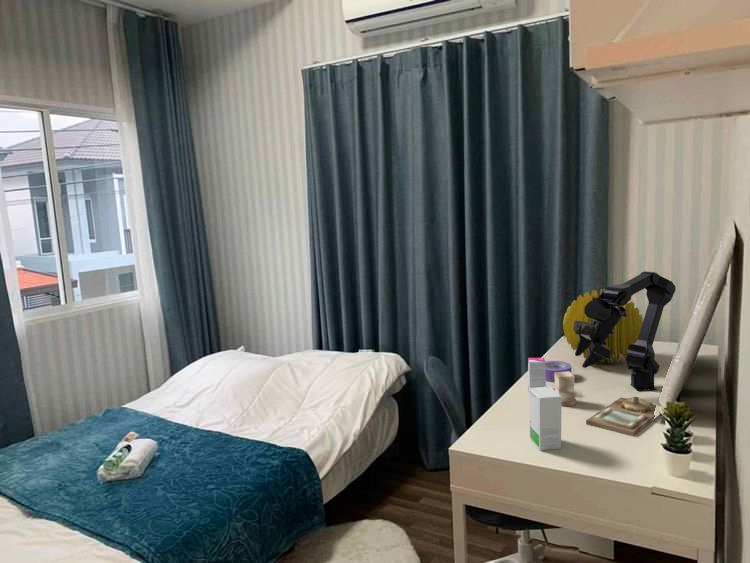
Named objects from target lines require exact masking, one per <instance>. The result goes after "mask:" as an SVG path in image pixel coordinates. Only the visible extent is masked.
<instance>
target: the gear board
mask: <svg viewBox="0 0 750 563" xmlns="http://www.w3.org/2000/svg"><path fill="white" fill-rule="evenodd" d="M656 405H657V404H654V402H651V401H646V400H645V399H644V398H640V397H638V396H633V398H632V397H628V398H625V397H620V398H618V399H616V400H615V401H613V402H612V403H610V404H609V405H607V406H606V407H604V408H602V409H601V410H600V411H598V412H596V413H595V414H593V415H592V416H590V417H589V418H587V419H586V420H585V424H586V425H588V426H592V427H597V428H601V429H605V430H608V431H611V432H614V433H615V432H616V433H619V434H623V435H626V436H631V437H634V436H635V435H637V434H638V433H639V432H641V431H642V430H643V429H644V428H646V427H647V426H648V425H649V424H650V423H652V422H654V420H655V419H654V417H655V415H654V411H655V408H656ZM653 419H654V420H653Z"/></svg>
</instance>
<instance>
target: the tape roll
mask: <svg viewBox="0 0 750 563" xmlns="http://www.w3.org/2000/svg"><path fill="white" fill-rule="evenodd" d="M545 362H546V382H548V383H555V372H567V371H570V372H571V373H572V371H573V370H572V365H571V364H570V363H569V362H566V361H562V360H545ZM572 374H573V373H572Z"/></svg>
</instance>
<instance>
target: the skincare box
mask: <svg viewBox="0 0 750 563" xmlns="http://www.w3.org/2000/svg"><path fill="white" fill-rule="evenodd" d="M529 390H530V393H529V440H530V441H531V442H532V443H533V444H534V445H535V446H536V448H537V449H538V450H539V451H540V452H543V451H551V450H560V449H562V407H563V406H562V397H561V396H560V395H559V394H558V393H557V391H555V389H553V388H552V387H551V385H549V386H547V385H546V387H537V388H529V389H528V391H529Z"/></svg>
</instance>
